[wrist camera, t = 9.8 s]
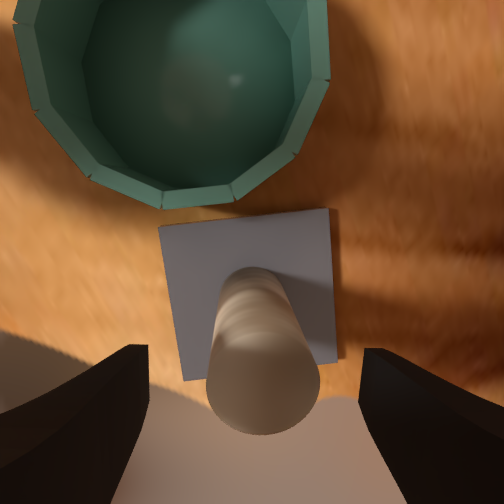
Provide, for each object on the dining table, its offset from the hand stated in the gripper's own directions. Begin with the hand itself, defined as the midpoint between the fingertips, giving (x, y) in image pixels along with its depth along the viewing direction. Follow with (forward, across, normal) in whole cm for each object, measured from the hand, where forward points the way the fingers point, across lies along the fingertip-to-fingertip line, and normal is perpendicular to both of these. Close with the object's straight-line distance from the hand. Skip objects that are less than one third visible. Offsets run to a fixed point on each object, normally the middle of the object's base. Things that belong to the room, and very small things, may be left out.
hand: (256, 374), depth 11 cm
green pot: (+10, +3, -11) cm, 16 cm away
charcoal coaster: (+10, 0, +1) cm, 10 cm away
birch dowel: (+10, 0, +1) cm, 10 cm away
